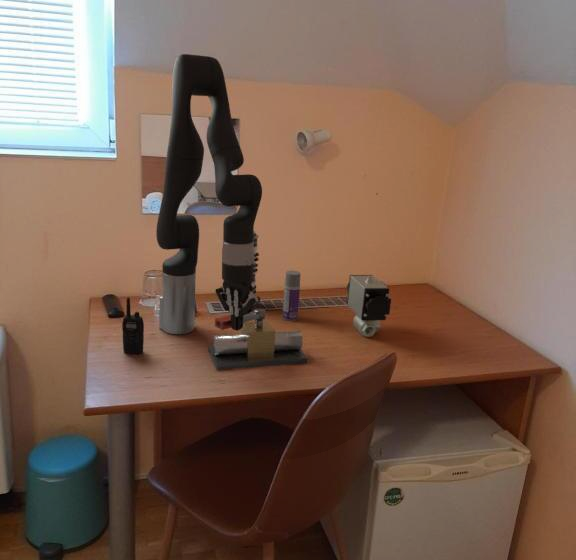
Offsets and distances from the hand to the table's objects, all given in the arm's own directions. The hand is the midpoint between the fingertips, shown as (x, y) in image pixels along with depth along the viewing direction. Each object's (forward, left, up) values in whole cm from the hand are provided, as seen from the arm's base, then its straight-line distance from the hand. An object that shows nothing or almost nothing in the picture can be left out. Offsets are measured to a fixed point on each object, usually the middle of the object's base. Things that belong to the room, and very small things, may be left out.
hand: (236, 329), depth 143 cm
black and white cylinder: (-21, +44, -11) cm, 50 cm away
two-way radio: (-28, -3, -11) cm, 30 cm away
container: (-3, +42, -11) cm, 43 cm away
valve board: (+1, +11, -11) cm, 15 cm away
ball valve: (+21, +44, -11) cm, 50 cm away
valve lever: (-1, +5, 0) cm, 6 cm away
